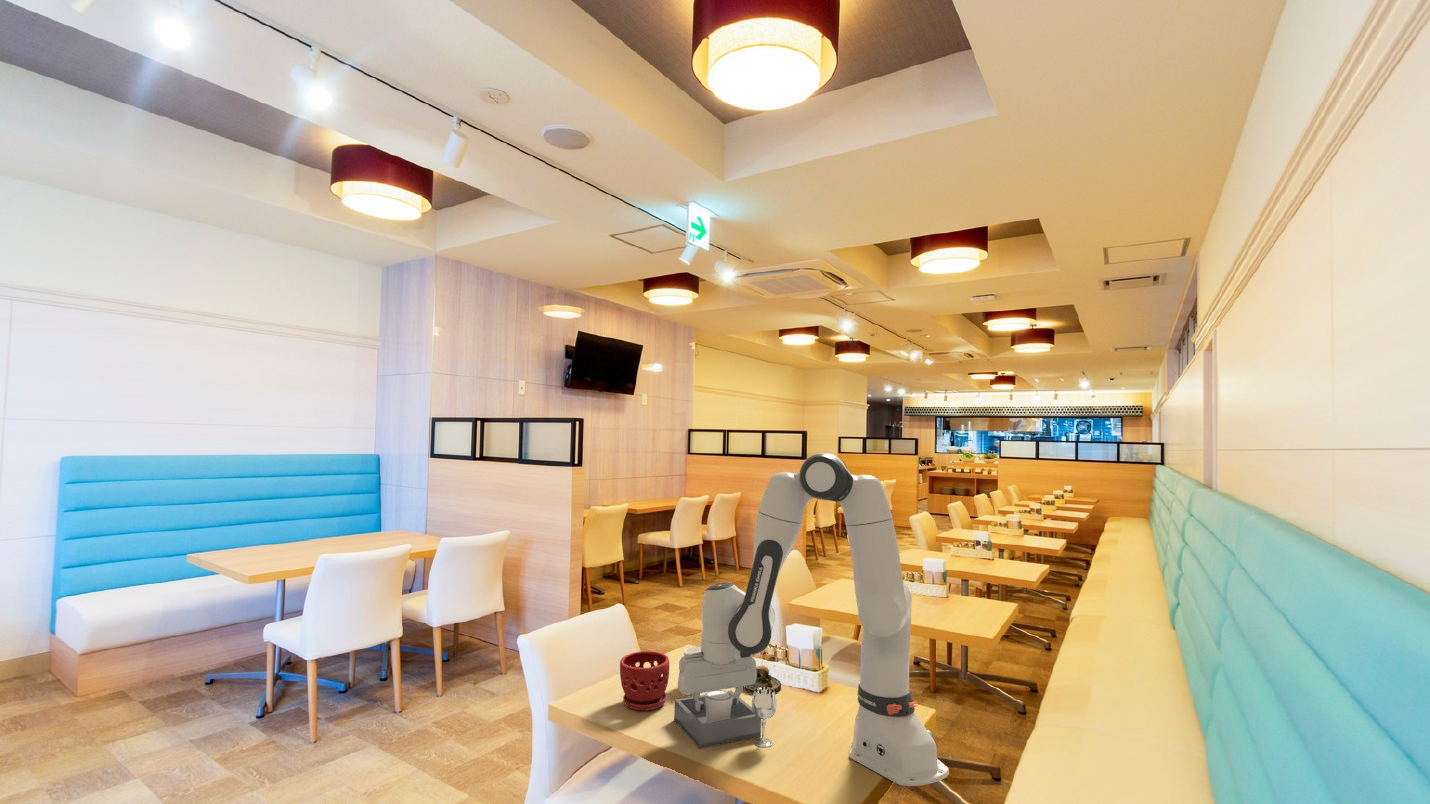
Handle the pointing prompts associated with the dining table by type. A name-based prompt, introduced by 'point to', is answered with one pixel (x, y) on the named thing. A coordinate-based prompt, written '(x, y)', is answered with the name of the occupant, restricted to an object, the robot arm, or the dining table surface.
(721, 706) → the small tapered cup
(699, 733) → the bin
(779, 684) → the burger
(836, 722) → the dining table surface
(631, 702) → the plant pot
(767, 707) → the wineglass
